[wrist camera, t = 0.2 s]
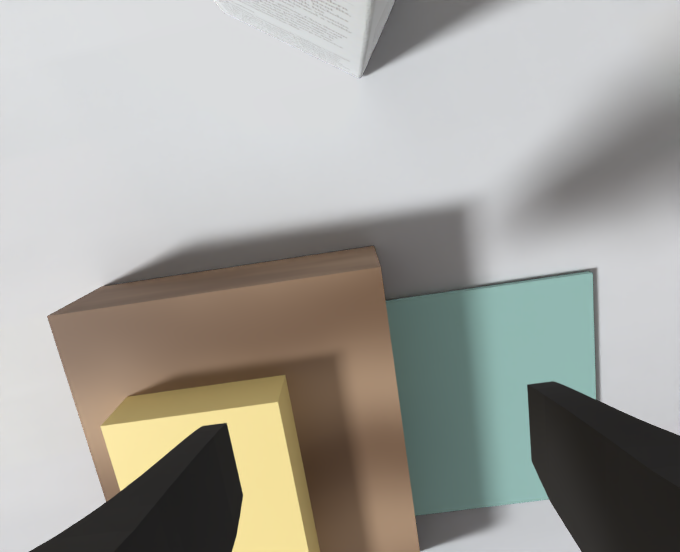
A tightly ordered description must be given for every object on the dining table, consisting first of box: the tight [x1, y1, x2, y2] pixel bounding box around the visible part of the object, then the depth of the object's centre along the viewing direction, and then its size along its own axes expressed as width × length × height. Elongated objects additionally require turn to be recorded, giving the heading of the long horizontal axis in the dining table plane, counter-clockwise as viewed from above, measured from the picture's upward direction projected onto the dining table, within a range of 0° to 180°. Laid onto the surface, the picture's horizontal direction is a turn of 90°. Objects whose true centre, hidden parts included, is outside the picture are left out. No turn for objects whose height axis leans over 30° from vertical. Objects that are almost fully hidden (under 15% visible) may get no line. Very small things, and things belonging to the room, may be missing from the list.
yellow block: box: [100, 375, 320, 552], centre depth 18 cm, size 9×6×2 cm, turn 9°
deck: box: [47, 246, 420, 552], centre depth 21 cm, size 16×12×4 cm
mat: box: [386, 271, 596, 516], centre depth 22 cm, size 11×9×1 cm
